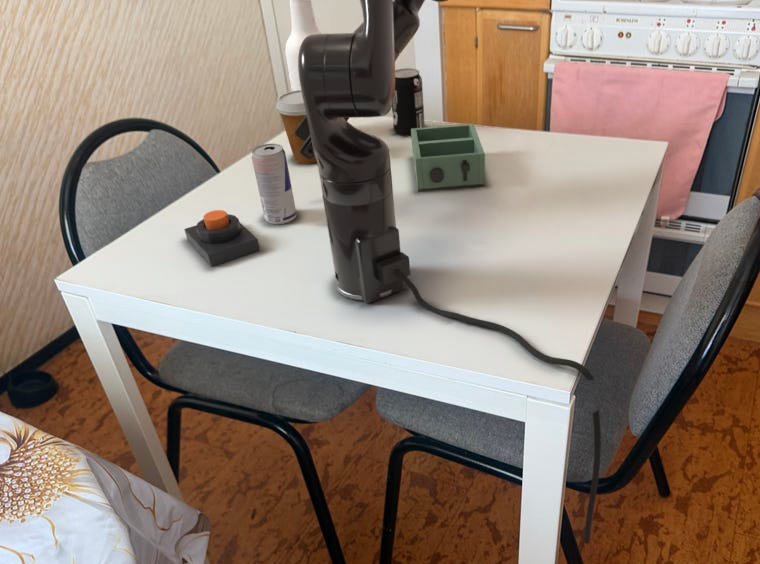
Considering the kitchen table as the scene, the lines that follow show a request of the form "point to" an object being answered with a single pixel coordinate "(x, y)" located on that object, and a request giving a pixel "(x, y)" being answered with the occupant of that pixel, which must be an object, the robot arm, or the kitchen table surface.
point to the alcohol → (299, 36)
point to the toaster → (447, 157)
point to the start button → (216, 219)
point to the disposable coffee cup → (293, 121)
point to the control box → (222, 241)
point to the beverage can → (408, 101)
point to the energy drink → (274, 183)
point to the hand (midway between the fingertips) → (301, 146)
